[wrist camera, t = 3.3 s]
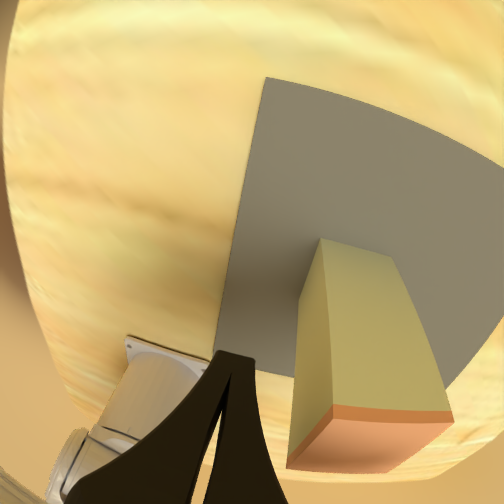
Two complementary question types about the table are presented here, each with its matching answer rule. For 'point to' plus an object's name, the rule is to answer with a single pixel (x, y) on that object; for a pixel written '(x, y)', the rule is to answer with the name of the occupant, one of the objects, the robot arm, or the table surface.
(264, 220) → the rubber mat
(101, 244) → the table surface
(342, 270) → the sage block
